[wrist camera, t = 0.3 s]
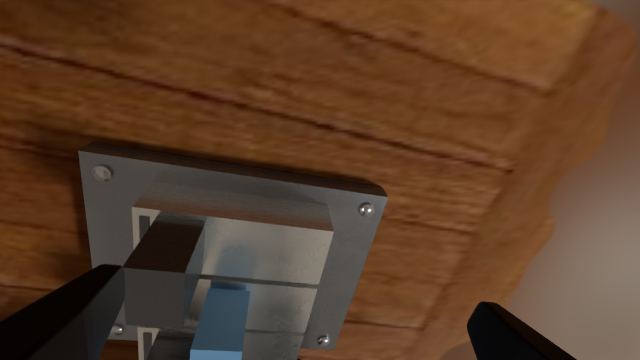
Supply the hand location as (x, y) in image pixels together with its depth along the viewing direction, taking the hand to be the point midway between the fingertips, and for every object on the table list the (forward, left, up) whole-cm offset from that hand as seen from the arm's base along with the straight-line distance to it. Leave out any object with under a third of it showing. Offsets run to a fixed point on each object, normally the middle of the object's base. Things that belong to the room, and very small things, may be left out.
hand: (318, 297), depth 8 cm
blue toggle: (-11, +3, -9) cm, 14 cm away
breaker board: (-11, +3, -14) cm, 18 cm away
